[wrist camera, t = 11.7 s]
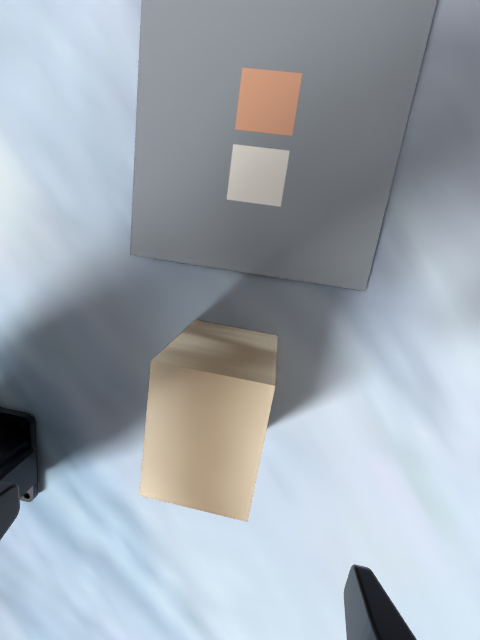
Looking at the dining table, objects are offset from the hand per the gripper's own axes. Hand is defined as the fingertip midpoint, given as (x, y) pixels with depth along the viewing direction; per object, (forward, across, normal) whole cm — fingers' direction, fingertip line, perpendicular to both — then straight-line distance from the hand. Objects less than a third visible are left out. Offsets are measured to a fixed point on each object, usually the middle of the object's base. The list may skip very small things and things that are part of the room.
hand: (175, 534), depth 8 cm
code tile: (+10, 0, -12) cm, 15 cm away
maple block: (+10, 0, 0) cm, 10 cm away
